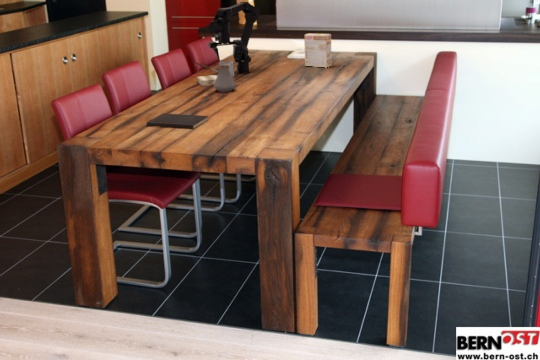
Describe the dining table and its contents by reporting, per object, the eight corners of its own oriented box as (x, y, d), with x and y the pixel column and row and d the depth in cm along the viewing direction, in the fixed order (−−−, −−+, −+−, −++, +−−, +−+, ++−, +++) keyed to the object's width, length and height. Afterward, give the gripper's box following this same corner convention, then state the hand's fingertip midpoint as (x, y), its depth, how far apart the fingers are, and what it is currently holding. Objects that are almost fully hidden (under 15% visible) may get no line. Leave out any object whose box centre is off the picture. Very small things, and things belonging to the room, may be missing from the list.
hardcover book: (163, 118, 325) (163, 113, 324) (208, 120, 318) (208, 115, 317) (146, 127, 311) (146, 122, 310) (193, 130, 304) (192, 125, 303)
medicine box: (234, 76, 408) (233, 61, 405) (233, 77, 404) (232, 62, 401) (221, 76, 409) (220, 61, 406) (219, 77, 405) (218, 62, 402)
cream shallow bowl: (217, 80, 399) (217, 74, 398) (222, 84, 388) (222, 78, 387) (197, 82, 396) (196, 76, 395) (201, 86, 385) (201, 80, 384)
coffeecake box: (331, 66, 424) (331, 33, 418) (326, 68, 419) (326, 35, 412) (310, 64, 432) (309, 32, 426) (304, 66, 427) (303, 34, 420)
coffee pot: (238, 88, 377) (236, 60, 372) (233, 93, 366) (231, 64, 361) (200, 87, 381) (198, 60, 376) (193, 92, 371) (191, 64, 366)
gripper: (236, 28, 407) (238, 55, 413) (205, 30, 402) (207, 58, 408) (241, 30, 397) (243, 58, 403) (209, 33, 392) (211, 61, 398)
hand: (226, 58), depth 403 cm, fingers open, 9 cm apart
